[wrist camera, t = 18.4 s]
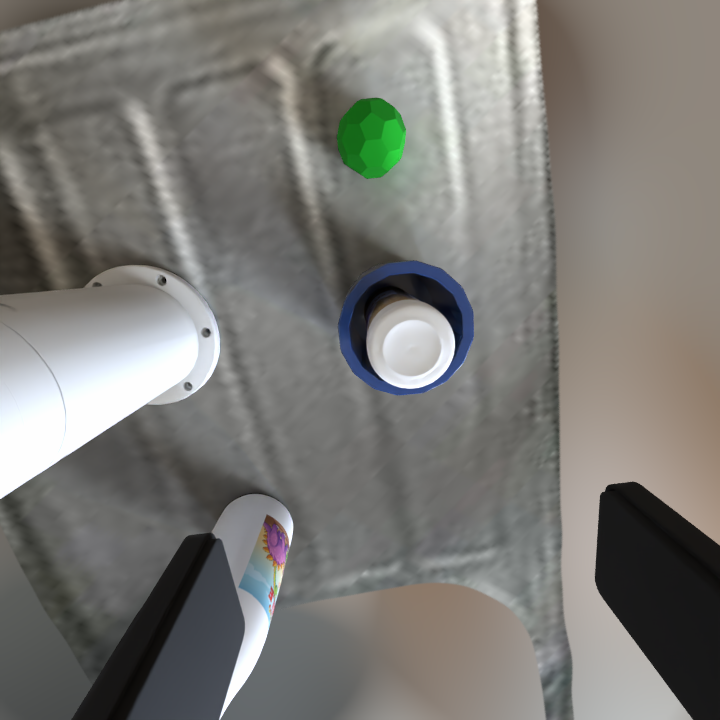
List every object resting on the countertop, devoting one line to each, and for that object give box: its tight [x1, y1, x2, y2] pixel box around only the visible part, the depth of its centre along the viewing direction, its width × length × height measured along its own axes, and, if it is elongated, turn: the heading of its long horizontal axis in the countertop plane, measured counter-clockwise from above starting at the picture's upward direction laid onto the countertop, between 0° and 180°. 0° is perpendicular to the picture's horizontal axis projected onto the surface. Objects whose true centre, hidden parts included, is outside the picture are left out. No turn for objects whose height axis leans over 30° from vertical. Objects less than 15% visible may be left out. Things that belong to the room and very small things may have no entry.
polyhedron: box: [337, 98, 406, 179], centre depth 26 cm, size 5×5×5 cm
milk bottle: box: [211, 494, 293, 720], centre depth 28 cm, size 8×8×20 cm
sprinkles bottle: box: [364, 287, 455, 389], centre depth 24 cm, size 5×5×13 cm
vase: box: [338, 260, 474, 395], centre depth 27 cm, size 8×8×10 cm
